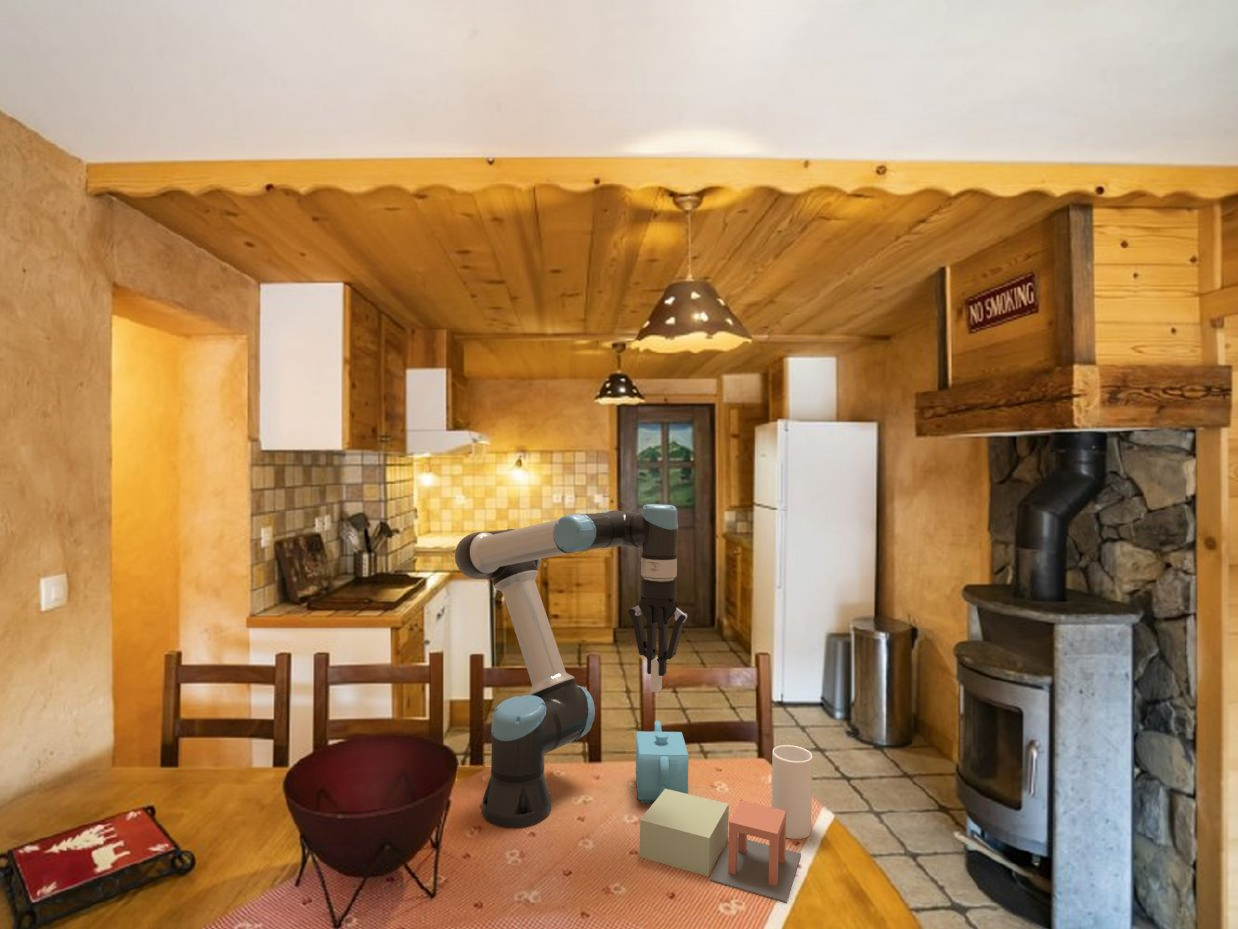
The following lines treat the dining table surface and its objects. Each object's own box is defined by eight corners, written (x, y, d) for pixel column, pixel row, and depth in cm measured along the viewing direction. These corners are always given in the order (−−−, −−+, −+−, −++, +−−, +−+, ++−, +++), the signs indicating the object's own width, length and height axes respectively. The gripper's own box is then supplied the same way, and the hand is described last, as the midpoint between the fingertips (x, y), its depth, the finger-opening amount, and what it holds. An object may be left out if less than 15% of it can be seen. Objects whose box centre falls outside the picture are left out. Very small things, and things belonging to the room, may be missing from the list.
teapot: (689, 814, 143) (690, 751, 144) (638, 814, 143) (640, 751, 143) (678, 768, 165) (679, 714, 165) (634, 768, 165) (635, 713, 165)
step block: (639, 856, 127) (640, 819, 127) (664, 822, 140) (665, 788, 140) (708, 876, 121) (709, 838, 121) (728, 838, 134) (728, 803, 134)
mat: (709, 880, 120) (709, 879, 120) (731, 837, 135) (731, 835, 135) (786, 903, 115) (786, 901, 115) (800, 854, 129) (800, 853, 129)
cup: (812, 841, 134) (814, 763, 134) (771, 836, 136) (773, 759, 136) (809, 820, 142) (810, 747, 142) (770, 815, 144) (772, 743, 144)
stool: (729, 822, 122) (777, 834, 119) (740, 800, 131) (786, 810, 127) (728, 872, 122) (776, 886, 119) (739, 847, 131) (785, 859, 127)
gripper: (623, 577, 136) (620, 690, 136) (682, 583, 131) (679, 701, 131) (637, 572, 143) (634, 680, 143) (693, 578, 138) (691, 689, 138)
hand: (656, 690), depth 137 cm, fingers closed
